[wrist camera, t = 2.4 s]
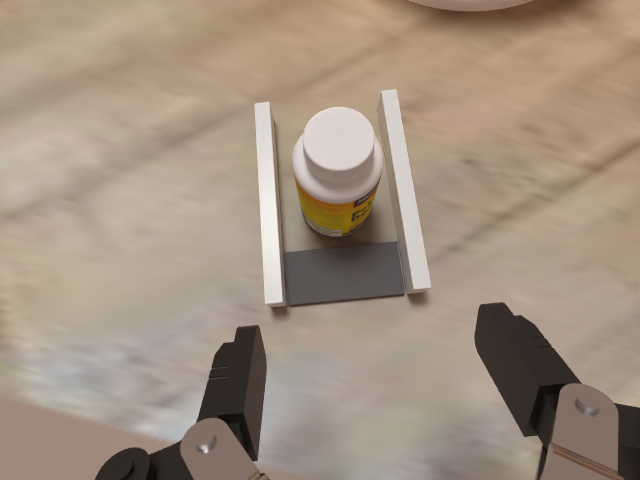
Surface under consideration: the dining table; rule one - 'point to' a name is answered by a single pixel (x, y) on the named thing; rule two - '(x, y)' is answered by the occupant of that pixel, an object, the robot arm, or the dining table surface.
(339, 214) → the supplement bottle
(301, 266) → the trap channel
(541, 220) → the dining table surface
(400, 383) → the dining table surface
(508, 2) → the plate stack
